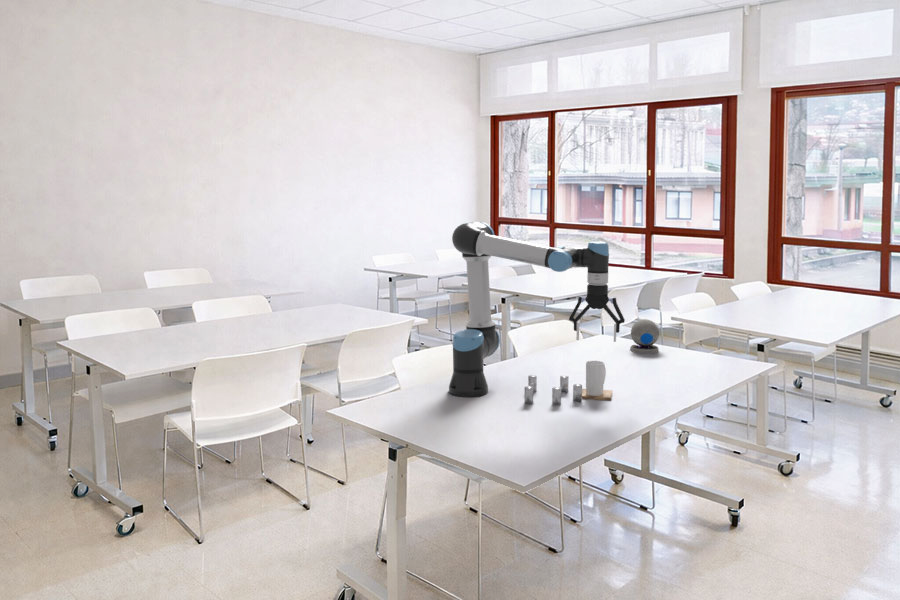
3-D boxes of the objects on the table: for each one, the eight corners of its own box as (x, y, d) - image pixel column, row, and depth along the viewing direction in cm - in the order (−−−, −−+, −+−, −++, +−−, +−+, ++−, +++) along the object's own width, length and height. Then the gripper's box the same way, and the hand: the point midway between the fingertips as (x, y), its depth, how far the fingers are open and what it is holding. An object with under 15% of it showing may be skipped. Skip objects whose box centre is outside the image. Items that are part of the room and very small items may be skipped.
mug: (596, 397, 276) (597, 365, 274) (581, 393, 281) (582, 362, 279) (612, 392, 283) (613, 361, 281) (597, 388, 287) (598, 358, 286)
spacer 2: (523, 404, 272) (523, 388, 271) (525, 401, 275) (525, 386, 274) (532, 404, 271) (532, 388, 270) (533, 402, 274) (533, 386, 273)
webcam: (655, 347, 360) (657, 317, 358) (660, 353, 348) (661, 322, 346) (628, 347, 362) (629, 317, 359) (632, 353, 349) (633, 322, 347)
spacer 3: (551, 405, 271) (551, 389, 270) (552, 402, 274) (552, 386, 273) (560, 405, 270) (560, 389, 269) (561, 403, 273) (561, 387, 272)
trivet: (578, 398, 279) (578, 395, 278) (580, 391, 288) (580, 388, 288) (610, 400, 276) (610, 397, 275) (612, 392, 285) (612, 390, 285)
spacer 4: (559, 392, 287) (559, 377, 286) (560, 390, 290) (560, 375, 289) (567, 393, 286) (568, 377, 285) (568, 390, 289) (568, 375, 288)
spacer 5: (572, 401, 275) (572, 385, 274) (573, 399, 278) (573, 383, 277) (581, 402, 274) (581, 386, 273) (582, 399, 277) (582, 384, 276)
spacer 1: (527, 392, 288) (527, 377, 287) (528, 389, 291) (528, 374, 290) (535, 392, 287) (536, 377, 286) (537, 390, 290) (537, 375, 289)
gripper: (562, 284, 275) (561, 340, 278) (632, 286, 268) (630, 344, 272) (564, 281, 282) (563, 336, 285) (632, 283, 276) (630, 339, 279)
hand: (596, 340), depth 278 cm, fingers open, 13 cm apart
